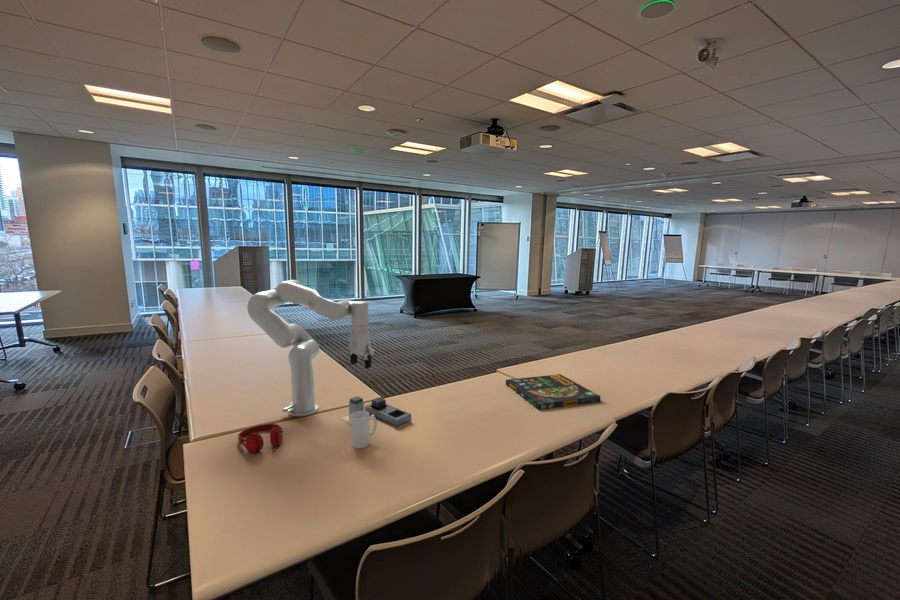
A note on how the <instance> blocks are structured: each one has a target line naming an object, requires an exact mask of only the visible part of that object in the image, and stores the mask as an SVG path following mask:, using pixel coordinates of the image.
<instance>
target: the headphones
mask: <svg viewBox="0 0 900 600" xmlns="http://www.w3.org/2000/svg"><path fill="white" fill-rule="evenodd" d="M264 431H265V432H266V431H268V432H269V431H270V433H269V438H270V440H269V441H270V445H271V446H272V447H278V446H279V445H282V443H283V433H284V431H283V428H282V427H281V426H280V425H279V424H275V423H268V424H267V423H266V424H260V425H259V424H258V425H256V426H252V427H248V428H246V429H244V430H242V431H241V432H239V433H238V434H237V435H238V436H237V437H238V443H239V444H240V446H241V445H242V446H243V447H244V448H246V450H247V451H248V452H249V453H253V454H254V453H258V452H260V451H262V449H263V447H264V443H265V442H264V438H263V436H262V435H261V434H260V433H258V432H264ZM245 437H246V438H245Z"/></svg>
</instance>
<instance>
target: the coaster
mask: <svg viewBox="0 0 900 600" xmlns="http://www.w3.org/2000/svg"><path fill="white" fill-rule="evenodd" d="M340 420H342V421H345V422H347V423H348V424H350V425H351V419H350V418H349V414H348V415H346V416H343V417H341V418H340Z"/></svg>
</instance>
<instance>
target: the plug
mask: <svg viewBox="0 0 900 600" xmlns="http://www.w3.org/2000/svg"><path fill="white" fill-rule="evenodd" d="M348 409H349V410H348V411H349V412H348V415H349V418H350V419H351V414H352V413H354V412H358V411H365V402H364V398H362V397H361V396H357V395H356V396H353V397H351V398H349V401H348Z"/></svg>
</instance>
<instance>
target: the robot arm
mask: <svg viewBox="0 0 900 600" xmlns="http://www.w3.org/2000/svg"><path fill="white" fill-rule="evenodd" d="M286 303H292V304H296V305H299V306H302V307H304V308H308V309H309V310H310V311H312V312H314V313H316V314H317V315H320V316H322V317H325V318H328V319H331V320H333V321H334V320H336V321H339V320H343V319H345V318H347V317H350V322H351V323H350V324H351V325H350V328H351V331H350V332H349V339H348V342H349V343H348V344H347V349H348V353H349V356H350V365H355V364H356V365H357V363H358V356H363V357H364V368H365V369H370V368H371V367H372V359H373V357H374V354H375V350H374V349H373V348H372V347H371V346H372V344H371V336H370V332H369V329H370V328H369V304H368V302H367V301H365V300H364V301H363V300H357V301H356V300H355V301H354V300H349V299H344V300H343V299H341V300H339V301H334V300H330V299H328V298H324V297H323V296H321V295H320V293H319V292H318V291H317V290H316V289H314V288H311V287H308V286H306V285H305V286H304V285H303V283H302V282H301V281H299V280H297V279H289V280H284V281H281V282H279V283H278V285H277V286H276V287H274V288H272V289H269V290H264V291H263V290H262V291H259V292H256V293H254V294H253V295H252V296H250V298H249V299H248V302H247V308H246V309H247V313H248V316H249V317H250V319H251V320H252V321H253V322H254V324H256V325H257V326H258V327H260V329H261V330H262V331H264V333H265V334H266V335H267V337H269V338H270V339H271V340H272V341H273V342H274V343H275V344H276V345H277V346H279V347H280V348H282V349H283V348H289V347H291V346H292V348H291V350H289V353H288V362H289V363H288V364H289V368H290V378H291V399H292V401H291V402H290V405H288V406H285V407H282V409H281V413H283V414H284V413H288V414H289V415H290V416H293V417H306V416H310V415H312V414H315V413H317V412H318V411H319V405H317V404H316V401H315V376H314V375H315V374H314V367H313V364H312V360H313V359H315V358H316V357H317V356H318V355H319V353H320V345H319V344H318V342H317V341H316V340H315V339H314V338H313V337H312V336H311V335H310V333H309V332H308V331H306V330H305V329H304V328H303V327H302V326H301V325H299V324H298V323H294V322H293V323H292V322H291V323H288V324H286V323H285V322H284V321H283V320H282V319H281V318H280V317H279V316H278V315H277V314H276V313H273V312H272V311H271V310H273V309H275V308H278V307H280V306H283V305H285V304H286Z"/></svg>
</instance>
